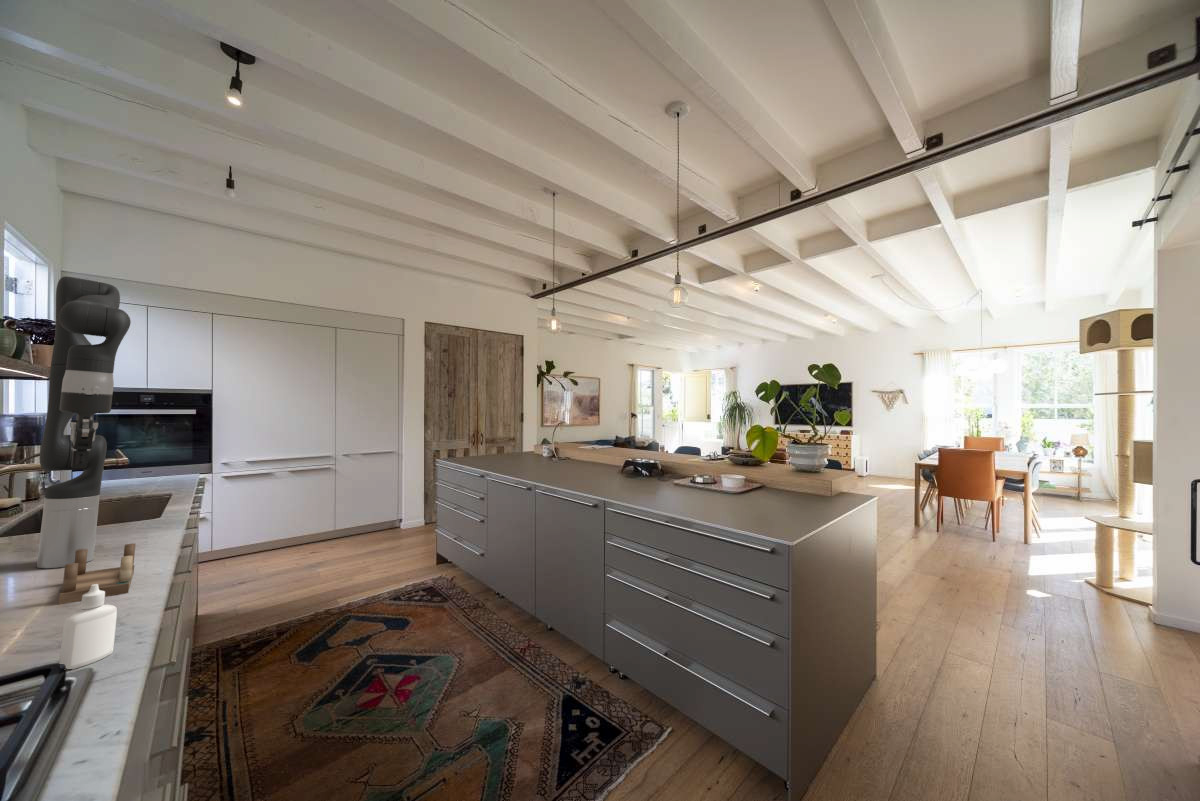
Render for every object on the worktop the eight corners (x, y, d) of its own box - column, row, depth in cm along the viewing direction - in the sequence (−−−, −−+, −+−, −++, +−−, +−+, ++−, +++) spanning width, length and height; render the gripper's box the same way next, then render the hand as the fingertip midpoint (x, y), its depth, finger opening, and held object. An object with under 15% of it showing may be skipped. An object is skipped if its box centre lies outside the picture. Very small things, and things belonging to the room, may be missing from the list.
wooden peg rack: (72, 582, 100) (76, 549, 100) (133, 573, 106) (136, 542, 107) (58, 604, 88) (62, 567, 89) (127, 592, 95) (131, 558, 95)
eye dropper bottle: (113, 659, 70) (121, 583, 70) (58, 673, 65) (67, 593, 66) (112, 649, 72) (119, 577, 73) (59, 663, 68) (67, 585, 69)
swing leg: (121, 570, 102) (123, 547, 102) (132, 568, 103) (134, 546, 103) (118, 582, 94) (121, 558, 95) (130, 580, 96) (133, 557, 96)
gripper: (60, 389, 99) (51, 465, 98) (63, 390, 91) (53, 472, 90) (109, 392, 105) (101, 463, 104) (116, 393, 97) (107, 470, 96)
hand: (79, 467), depth 97 cm, fingers closed
